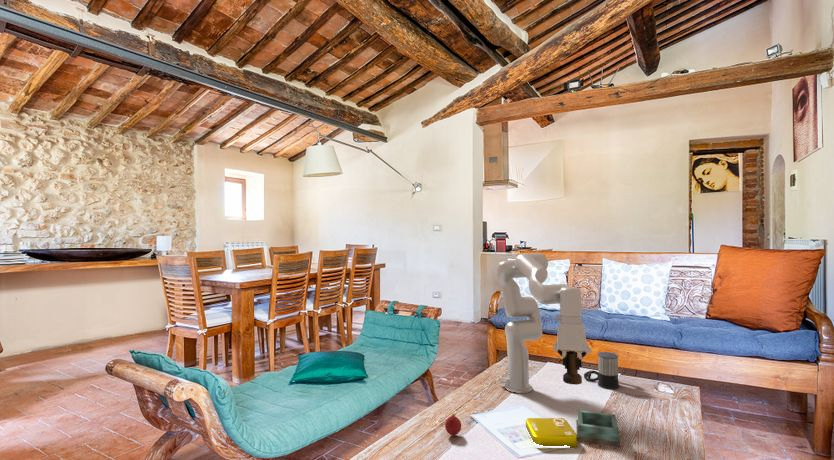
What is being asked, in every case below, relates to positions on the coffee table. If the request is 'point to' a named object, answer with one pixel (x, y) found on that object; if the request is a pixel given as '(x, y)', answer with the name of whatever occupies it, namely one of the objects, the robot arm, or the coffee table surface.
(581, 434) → the green square tray
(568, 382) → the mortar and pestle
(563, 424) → the element tile
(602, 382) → the milk frother
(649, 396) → the coffee table surface
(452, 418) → the onion
